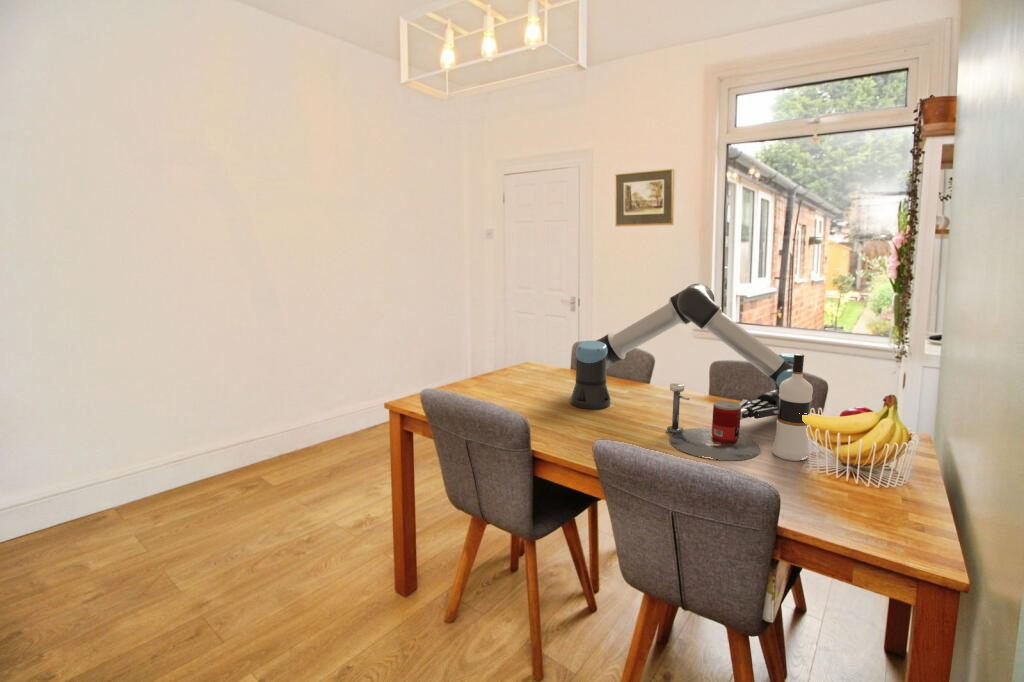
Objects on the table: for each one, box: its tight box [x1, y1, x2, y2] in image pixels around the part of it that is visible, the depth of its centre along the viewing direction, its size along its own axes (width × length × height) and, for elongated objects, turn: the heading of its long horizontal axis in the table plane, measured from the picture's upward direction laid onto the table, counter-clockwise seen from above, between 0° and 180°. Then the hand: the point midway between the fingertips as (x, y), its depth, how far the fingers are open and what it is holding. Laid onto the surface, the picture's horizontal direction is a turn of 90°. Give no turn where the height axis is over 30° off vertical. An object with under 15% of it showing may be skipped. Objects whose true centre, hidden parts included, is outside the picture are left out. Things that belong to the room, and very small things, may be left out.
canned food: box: [711, 400, 741, 442], centre depth 166 cm, size 8×8×11 cm
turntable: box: [669, 427, 761, 462], centre depth 163 cm, size 26×26×1 cm
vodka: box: [771, 353, 814, 462], centre depth 150 cm, size 9×9×30 cm
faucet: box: [666, 382, 691, 434], centre depth 171 cm, size 7×5×16 cm
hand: (734, 416), depth 168 cm, fingers closed
